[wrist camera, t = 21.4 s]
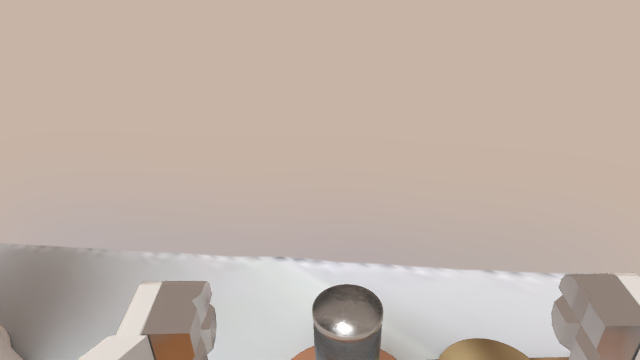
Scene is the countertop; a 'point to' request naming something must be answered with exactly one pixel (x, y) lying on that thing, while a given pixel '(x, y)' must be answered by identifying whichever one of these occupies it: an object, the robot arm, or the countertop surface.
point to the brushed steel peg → (347, 324)
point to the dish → (308, 356)
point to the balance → (485, 351)
